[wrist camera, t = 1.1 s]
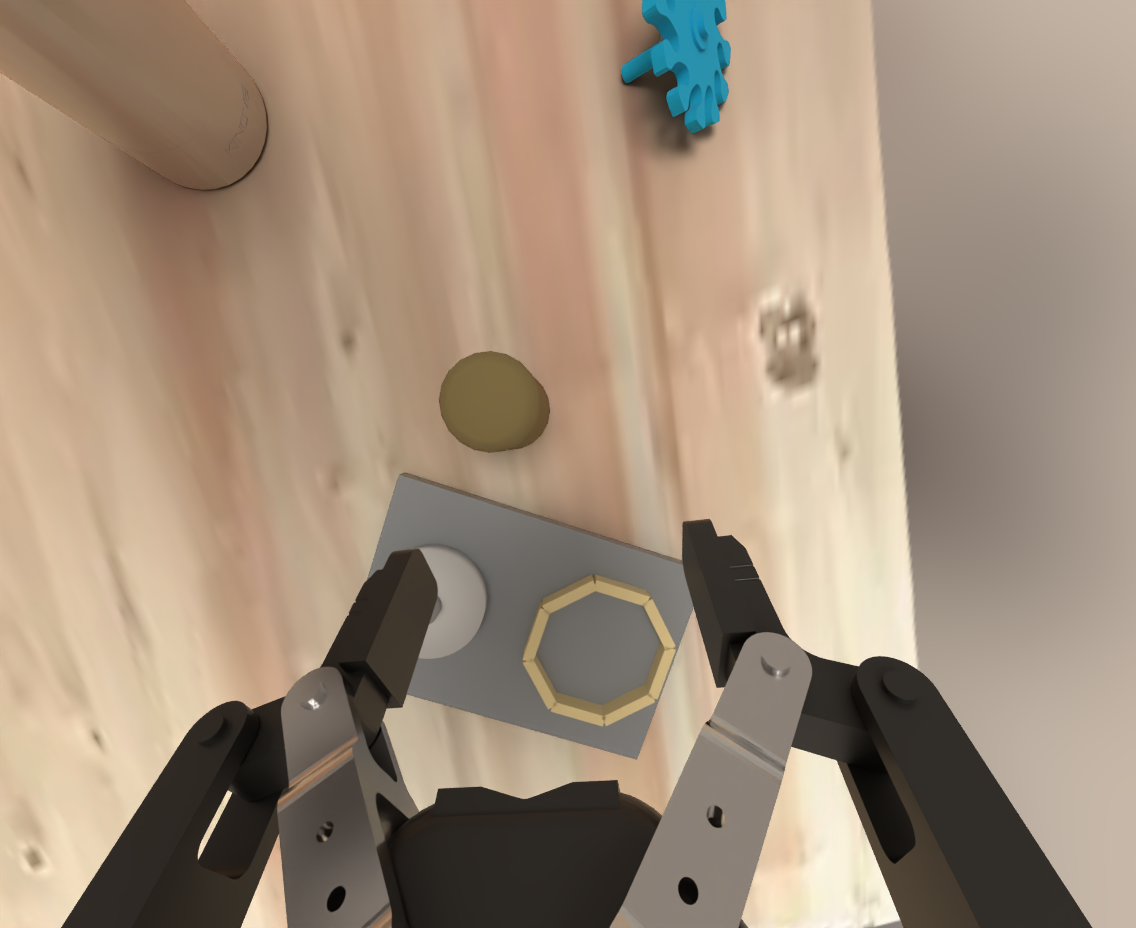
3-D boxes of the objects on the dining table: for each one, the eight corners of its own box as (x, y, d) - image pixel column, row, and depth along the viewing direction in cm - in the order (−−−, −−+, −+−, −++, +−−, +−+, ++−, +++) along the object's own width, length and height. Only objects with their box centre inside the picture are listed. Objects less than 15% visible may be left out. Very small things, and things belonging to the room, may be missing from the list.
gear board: (346, 665, 32) (319, 696, 28) (404, 472, 31) (384, 479, 27) (633, 747, 34) (643, 787, 30) (700, 567, 32) (719, 585, 29)
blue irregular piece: (722, 161, 28) (649, 17, 21) (647, 189, 32) (563, 77, 25) (751, 13, 29) (691, -180, 21) (674, 58, 33) (601, -90, 25)
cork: (551, 370, 31) (550, 339, 20) (548, 450, 31) (546, 465, 20) (469, 366, 30) (422, 333, 19) (468, 448, 31) (421, 461, 20)
